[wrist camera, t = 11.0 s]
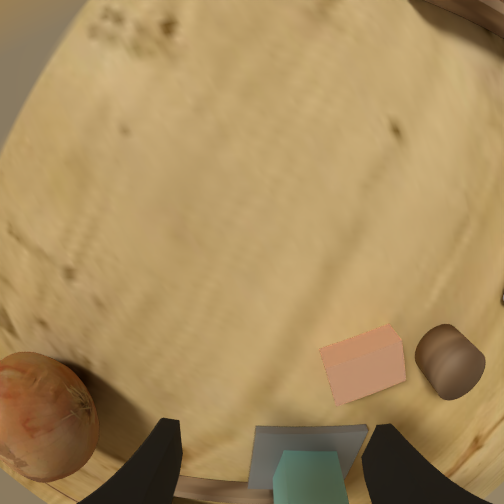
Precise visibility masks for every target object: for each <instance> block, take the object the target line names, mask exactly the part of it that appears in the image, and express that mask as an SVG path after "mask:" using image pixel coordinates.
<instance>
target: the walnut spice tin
mask: <svg viewBox="0 0 504 504" xmlns="http://www.w3.org/2000/svg"><path fill="white" fill-rule="evenodd" d="M415 361H416V363H417V365H418V366H419V368H420V369H421V371H422V372H423V373H424V375H425V376H426V378H427V379H428V380H429V382H430V383H431V385H432V386H433V387H434V389H435V390H436V392H437V393H438V395H439V396H440V397H441V398H442V399H444V400H454V399H457V398H460V397H462V396H463V395H465V394H466V393H468V392H469V391H470V390H471V389H472V388H473V387H474V386H475V385H476V384H477V383H478V381H479V380H480V378H481V376H482V374H483V372H484V369H485V357H484V355H483V354H482V353H481V352H480V351H479V350H478V349H477V348H476V347H475V346H474V345H473V344H472V343H471V342H470V341H469V340H468V339H467V338H466V337H465V336H464V335H463V334H461V333H460V332H459V331H458V330H457V329H456V328H455V327H454V326H452V325H450V324H442V325H439V326H436V327H434V328H433V329H431V330H430V331H428V332H427V333H426V334H425V335H424V336H423V338H422V339H421V340H420V342H419V344H418V346H417V348H416V352H415Z"/></svg>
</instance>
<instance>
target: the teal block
mask: <svg viewBox="0 0 504 504" xmlns="http://www.w3.org/2000/svg"><path fill="white" fill-rule="evenodd" d="M273 495H274V504H349V501H348V497H347V493H346V488H345V484H344V480H343V476H342V471H341V467H340V463H339V459H338V455H337V451H290V450H284V451H283V454H282V457H281V459H280V462H279V464H278V467H277V469H276V471H275V474H274V476H273Z"/></svg>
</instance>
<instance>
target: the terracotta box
mask: <svg viewBox="0 0 504 504" xmlns="http://www.w3.org/2000/svg"><path fill="white" fill-rule="evenodd" d="M319 350H320V354H321V357H322V360H323V364H324V367H325V370H326V374H327V377H328V381H329V384H330V387H331V391H332V394H333V397H334V400H335V404H336V406H339V405H342V404H345V403H348V402H351V401H354V400H357V399H359V398H362V397H365V396H368V395H370V394H373V393H376V392H378V391H381V390H383V389H386V388H388V387H391V386H393V385H396V384H398V383H401V382H403V381H405V380H406V374H405V363H404V354H403V345H402V340H401V338H400V337H399V336H398V334H397V333H396V332H395V330H394V329H393V328H392V326H391V325H390V324H386V325H384V326H381V327H379V328H376V329H373V330H371V331H368V332H365V333H363V334H360V335H357V336H354V337H352V338H349V339H346V340H343V341H340V342H337V343H334V344H332V345H329V346H326V347H323V348H320V349H319Z"/></svg>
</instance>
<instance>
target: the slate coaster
mask: <svg viewBox="0 0 504 504" xmlns="http://www.w3.org/2000/svg"><path fill="white" fill-rule="evenodd" d="M367 432H368V429H367V426H366V424H363V425H349V426H327V427H271V426H256V428H255V435H254V442H253V450H252V457H251V464H250V471H249V477H248V489H273V476H274V474H275V471H276V469H277V467H278V464H279V462H280V459H281V457H282V454H283V451H284V450H290V451H337V455H338V459H339V463H340V467H341V471H342V476H343V480H344V479H345V477H346V476H347V474H348V472H349V470H350V468H351V466H352V464H353V462H354V460H355V458H356V456H357V454H358V452H359V450H360V448H361V445H362V443H363V441H364V439H365V437H366V435H367Z"/></svg>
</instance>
